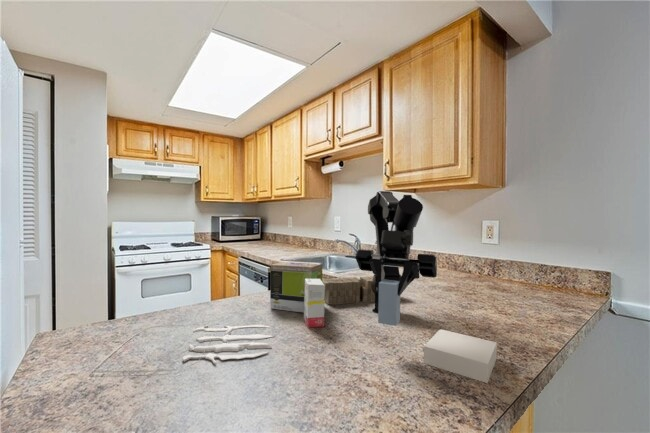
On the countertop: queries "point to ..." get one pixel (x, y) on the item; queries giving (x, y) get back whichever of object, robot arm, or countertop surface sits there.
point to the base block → (461, 354)
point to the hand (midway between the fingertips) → (388, 293)
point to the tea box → (291, 284)
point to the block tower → (348, 290)
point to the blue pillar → (389, 302)
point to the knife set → (219, 345)
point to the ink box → (314, 303)
